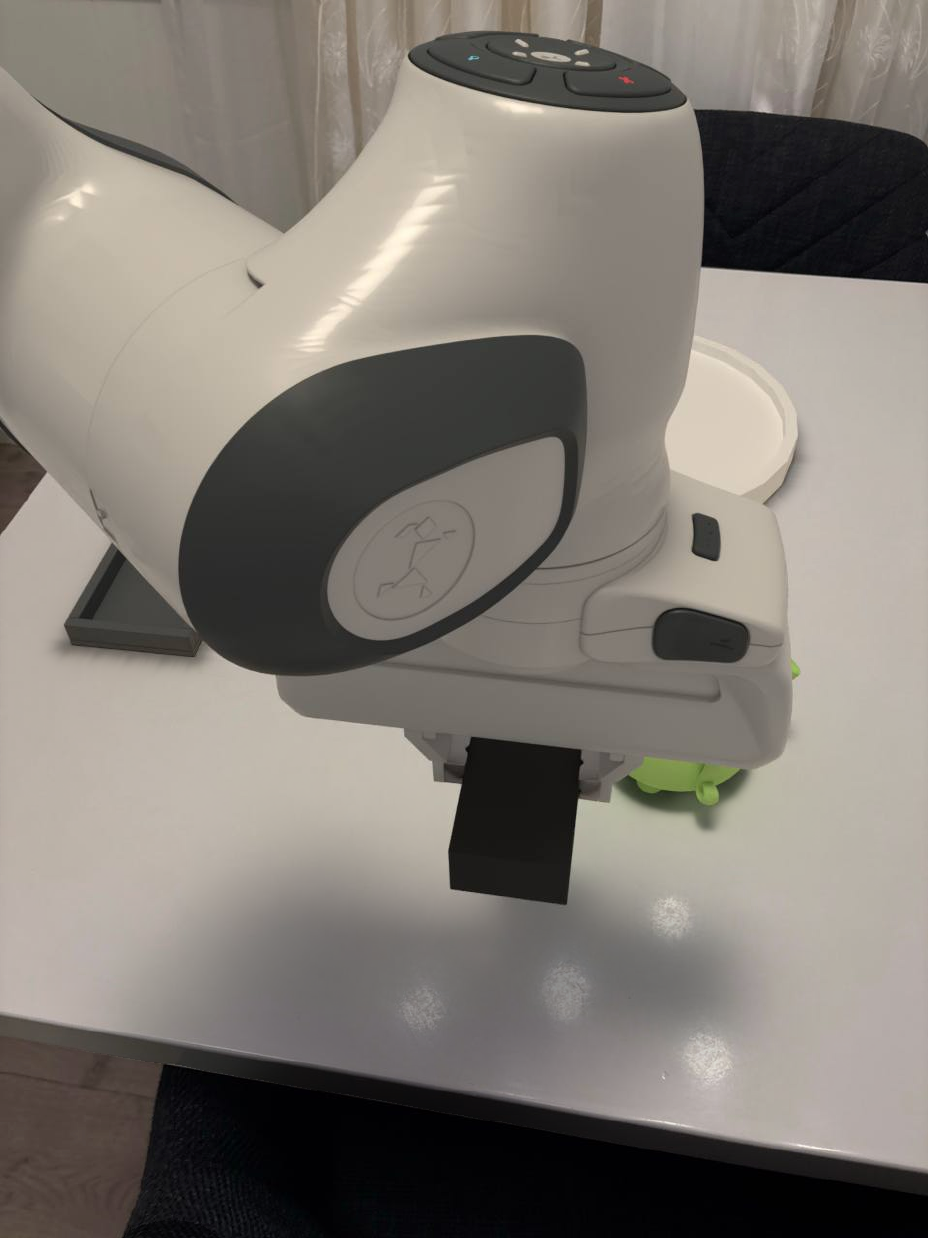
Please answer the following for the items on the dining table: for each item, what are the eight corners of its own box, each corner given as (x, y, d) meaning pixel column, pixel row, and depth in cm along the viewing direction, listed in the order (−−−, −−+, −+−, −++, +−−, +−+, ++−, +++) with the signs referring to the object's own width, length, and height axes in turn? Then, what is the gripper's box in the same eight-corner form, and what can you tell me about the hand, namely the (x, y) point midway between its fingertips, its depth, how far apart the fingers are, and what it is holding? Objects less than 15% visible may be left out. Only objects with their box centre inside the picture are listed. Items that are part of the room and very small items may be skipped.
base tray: (194, 657, 73) (188, 637, 71) (71, 644, 74) (62, 624, 72) (251, 530, 82) (246, 511, 81) (141, 521, 83) (134, 501, 82)
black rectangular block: (567, 906, 44) (570, 868, 42) (449, 890, 44) (447, 851, 42) (586, 722, 51) (590, 681, 49) (484, 710, 51) (484, 670, 49)
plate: (863, 472, 86) (871, 447, 84) (572, 583, 77) (574, 558, 75) (666, 320, 104) (669, 297, 102) (411, 397, 95) (409, 373, 93)
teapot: (718, 856, 61) (743, 768, 55) (545, 773, 65) (550, 683, 59) (785, 727, 67) (814, 636, 61) (624, 659, 72) (636, 568, 66)
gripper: (219, 578, 36) (278, 809, 46) (836, 640, 33) (757, 872, 43) (273, 467, 40) (316, 700, 50) (821, 514, 38) (753, 750, 47)
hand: (524, 780), depth 46 cm, fingers closed on black rectangular block, 5 cm apart
